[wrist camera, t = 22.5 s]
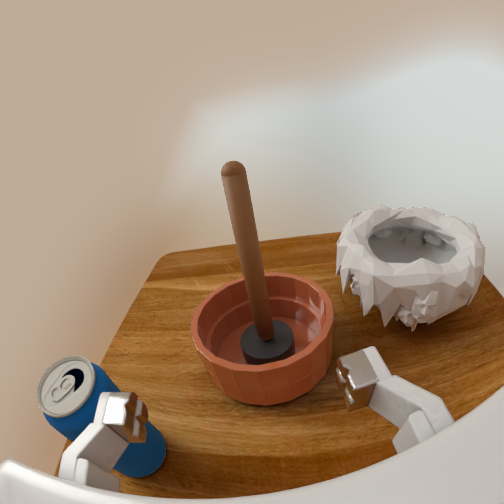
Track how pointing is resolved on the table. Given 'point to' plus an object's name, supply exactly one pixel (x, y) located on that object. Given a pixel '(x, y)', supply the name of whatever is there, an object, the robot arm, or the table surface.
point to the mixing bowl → (240, 318)
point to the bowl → (410, 263)
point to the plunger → (254, 275)
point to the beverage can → (92, 411)
